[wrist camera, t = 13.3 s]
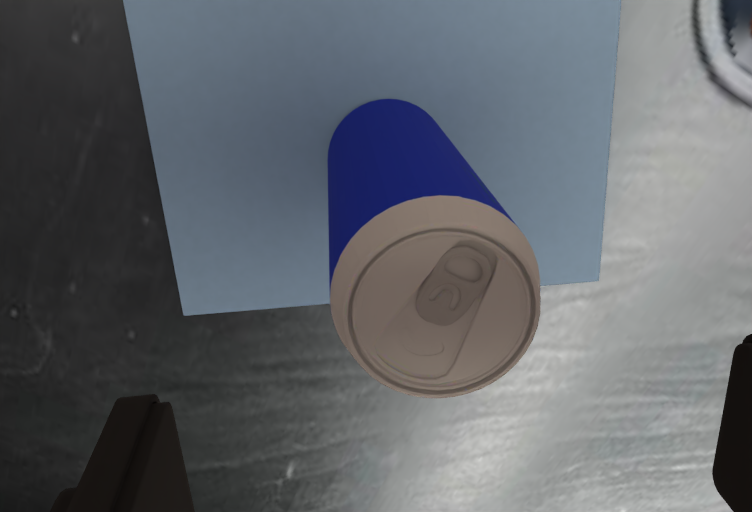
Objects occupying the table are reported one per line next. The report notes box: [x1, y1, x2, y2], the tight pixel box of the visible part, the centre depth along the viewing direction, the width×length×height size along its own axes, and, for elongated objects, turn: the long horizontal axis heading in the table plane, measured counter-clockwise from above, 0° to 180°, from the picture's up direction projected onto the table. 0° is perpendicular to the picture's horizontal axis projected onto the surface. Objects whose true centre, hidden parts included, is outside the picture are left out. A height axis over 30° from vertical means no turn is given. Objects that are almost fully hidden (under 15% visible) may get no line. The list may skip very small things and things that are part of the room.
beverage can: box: [327, 99, 540, 398], centre depth 22 cm, size 5×5×15 cm
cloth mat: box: [123, 0, 621, 316], centre depth 29 cm, size 20×14×1 cm
